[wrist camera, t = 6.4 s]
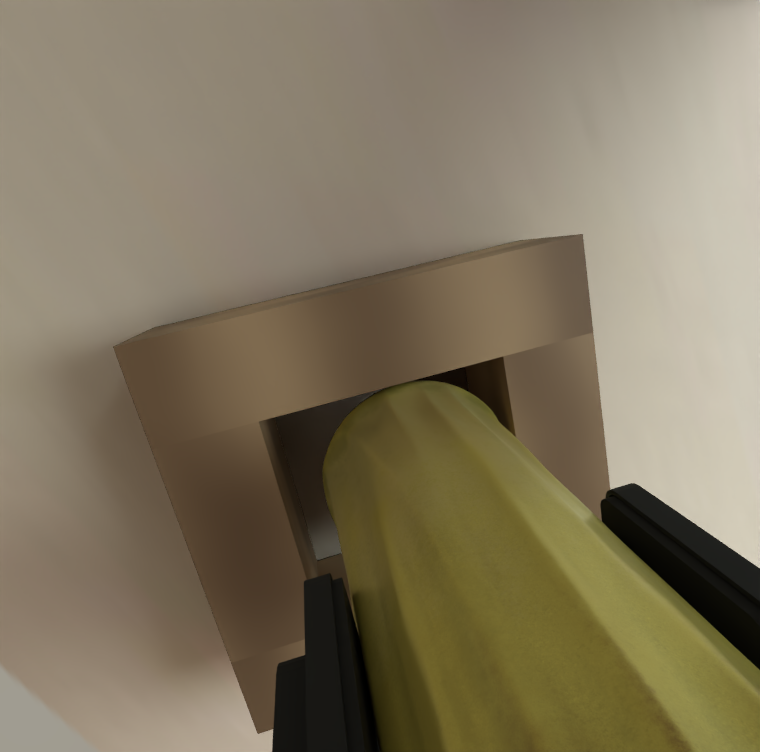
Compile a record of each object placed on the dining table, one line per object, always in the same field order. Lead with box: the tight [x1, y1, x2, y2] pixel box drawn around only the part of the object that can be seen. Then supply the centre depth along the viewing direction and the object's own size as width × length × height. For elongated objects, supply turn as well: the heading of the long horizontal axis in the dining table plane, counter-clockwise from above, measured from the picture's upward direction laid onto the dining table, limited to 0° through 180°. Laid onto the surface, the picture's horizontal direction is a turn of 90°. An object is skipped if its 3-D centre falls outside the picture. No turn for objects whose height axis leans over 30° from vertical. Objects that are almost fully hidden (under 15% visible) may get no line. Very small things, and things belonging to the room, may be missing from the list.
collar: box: [113, 234, 610, 734], centre depth 17 cm, size 14×14×4 cm
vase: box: [322, 380, 760, 752], centre depth 9 cm, size 6×6×14 cm
